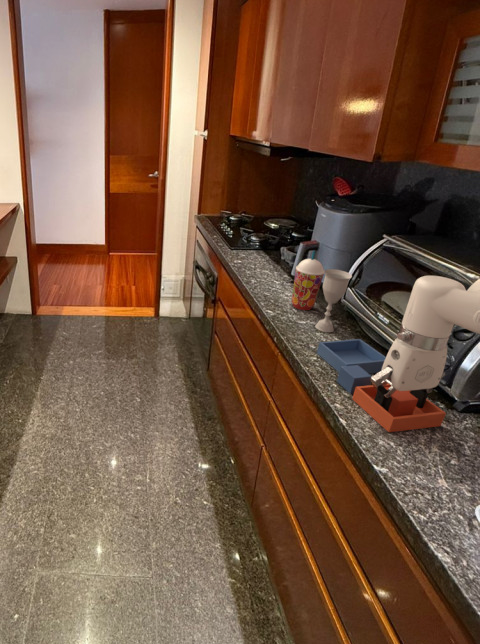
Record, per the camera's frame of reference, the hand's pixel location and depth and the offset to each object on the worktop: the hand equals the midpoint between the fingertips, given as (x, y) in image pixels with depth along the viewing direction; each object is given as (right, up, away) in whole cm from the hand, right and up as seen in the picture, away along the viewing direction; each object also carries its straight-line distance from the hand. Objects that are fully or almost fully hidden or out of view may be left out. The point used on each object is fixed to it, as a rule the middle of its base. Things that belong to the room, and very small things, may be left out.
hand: (397, 405), depth 84 cm
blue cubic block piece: (-4, +2, +9) cm, 10 cm away
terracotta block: (0, -1, +1) cm, 1 cm away
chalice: (+4, +12, +34) cm, 36 cm away
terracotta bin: (0, -2, +1) cm, 2 cm away
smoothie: (+4, +17, +47) cm, 50 cm away
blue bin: (+1, +5, +18) cm, 19 cm away
